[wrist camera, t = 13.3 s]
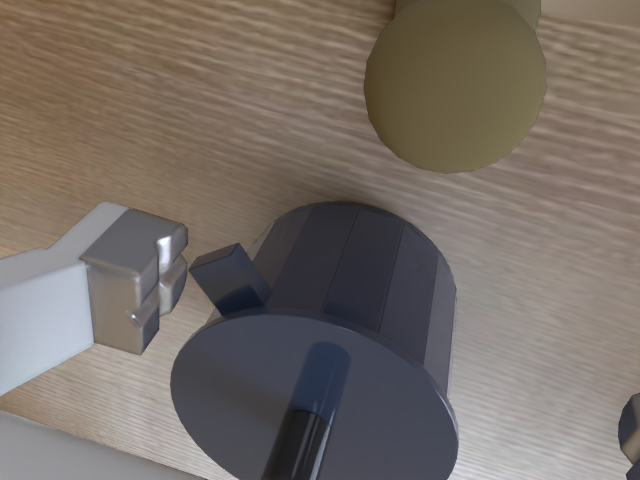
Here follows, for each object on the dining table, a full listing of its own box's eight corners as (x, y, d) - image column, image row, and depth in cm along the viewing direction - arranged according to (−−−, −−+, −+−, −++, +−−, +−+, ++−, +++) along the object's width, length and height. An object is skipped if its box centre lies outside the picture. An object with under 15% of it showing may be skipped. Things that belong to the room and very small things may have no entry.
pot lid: (377, 260, 22) (346, 370, 17) (504, 483, 27) (506, 609, 23) (126, 336, 28) (56, 430, 23) (271, 504, 33) (236, 606, 29)
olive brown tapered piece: (575, -8, 23) (624, 87, 14) (473, 107, 26) (462, 239, 18) (455, -103, 22) (428, -66, 13) (367, 28, 26) (300, 126, 17)
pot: (376, 123, 28) (333, 227, 21) (505, 376, 35) (507, 522, 28) (187, 203, 34) (98, 308, 26) (330, 406, 41) (293, 534, 33)
